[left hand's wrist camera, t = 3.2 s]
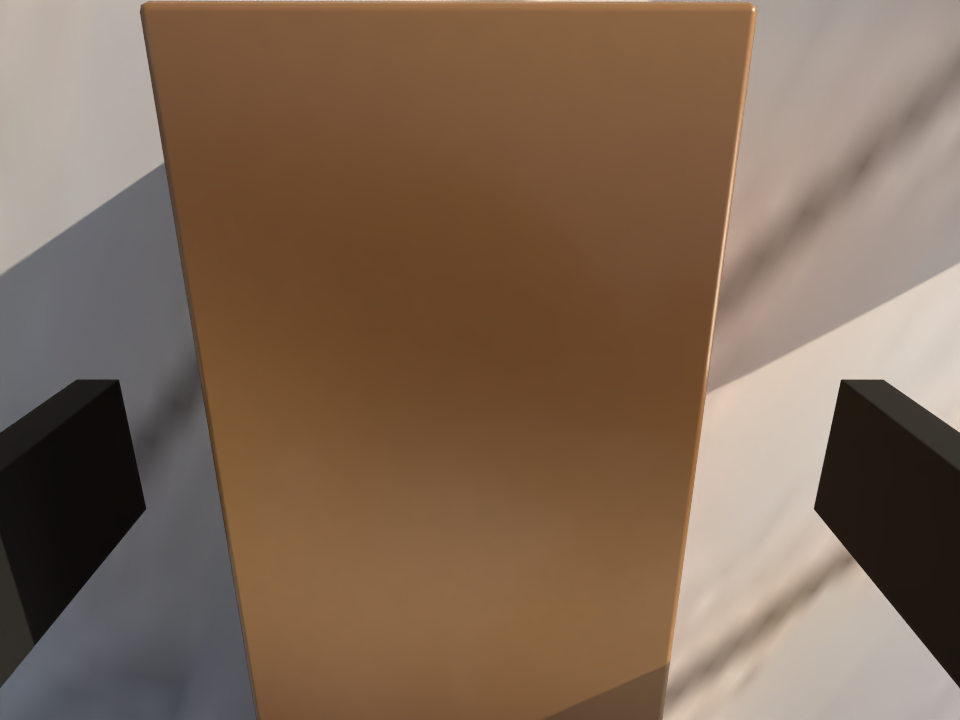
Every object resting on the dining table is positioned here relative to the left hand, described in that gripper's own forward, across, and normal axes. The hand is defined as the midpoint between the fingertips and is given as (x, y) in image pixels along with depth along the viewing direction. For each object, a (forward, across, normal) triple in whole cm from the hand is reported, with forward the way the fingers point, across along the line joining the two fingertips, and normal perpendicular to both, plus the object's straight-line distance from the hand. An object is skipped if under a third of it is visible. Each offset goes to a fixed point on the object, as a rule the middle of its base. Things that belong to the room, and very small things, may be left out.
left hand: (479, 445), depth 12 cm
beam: (+4, 0, -29) cm, 30 cm away
